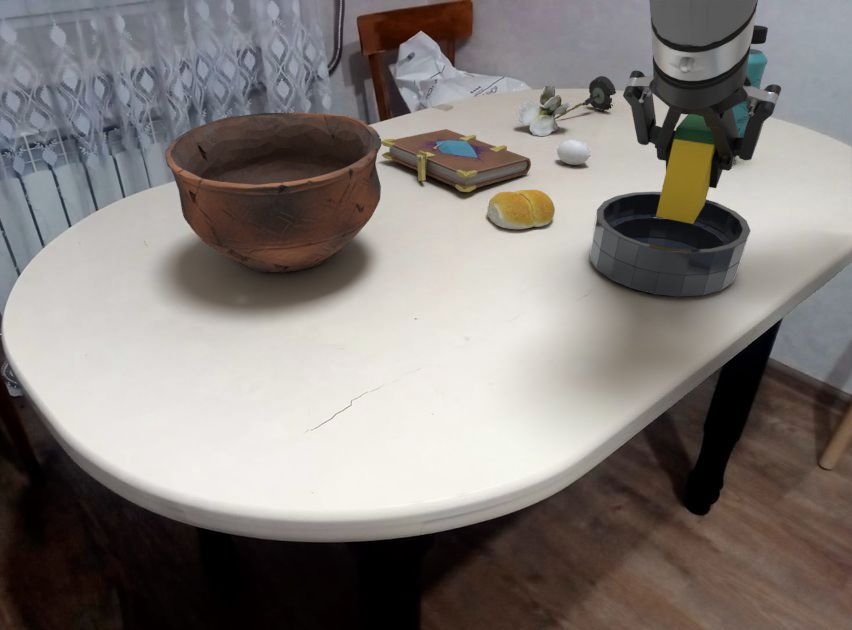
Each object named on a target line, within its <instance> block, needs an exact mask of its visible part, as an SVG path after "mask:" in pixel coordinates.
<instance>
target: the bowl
mask: <svg viewBox="0 0 852 630" xmlns="http://www.w3.org/2000/svg"><path fill="white" fill-rule="evenodd" d="M381 141H382V138H381V136H380V135H379V133H378V131H377V130H376V129H375V128H373V126H371V125H369V124H367V122H366V121H364V120H363V119H361V118H360V119H359V118H358V117H354V116H349V115H346V114H338V113H336V114H334V113H316V112H315V113H312V112H261V113H253V114H251V113H250V114H244V115H243V114H242V115H235V116H227V117H222V118H219V119H216V120H213V121H211V122H208V123H204V124H202V125H199V126H197V127H194V128H192V129H190V130H188V131H186V132H184V133H182V134H181V135H179V136H178V137H176V138H175V139H174V140H173V141H171V142H170V144H169V145H168V147H167V148H166V149H165V155H164V158H165V161H166V165H167V167H168V168H169V169H170V170H171V173H172V176H173V178H174V180H175V181H174V182H175V185H176V187H177V190H178V195H179V201H180V207H181V212H182V216H183V219H184V221H186V223H187V224H188V225H189V227H190V229H191V230H192V231H193V232H194V233H195V235H196V236H198V238H199V239H200V240H201V241H202V242H203V243H205V244H206V245H207V246H208V247H210V248H212V249H213V250H214V251H216V252H217V253H219V254H220V255H222V256H224V257H227V258H229V259H231V260H234V261H235V262H237V263H238V264H242V265H245V266H247V268H250V269H252V270H254V271H256V272H262V273H278V274H280V273H281V274H282V273H289V272H296V271H301V270H306V269H310V268H313V267H316V266H318V265H320V264H322V263H324V262H325V261H327V260H328V259H329V258H330V257H332V256H333V255H335V254H336V253H337V252H339V250H341V249H343V248H344V247H345V246H346V245H347V244H348V243H349V242H351V241H352V240H353V239H354V238H355V237H356V236H357V235H358V234H359V233H360V232H361V231H362V229H363V228H364V227H365V226H366V225H367V224H368V222H369V221H370V219H371V218H372V217H373V215H374V213H375V211H376V210H377V207H378V205H379V203H380V200H381V195H382V194H381V193H382V192H381V191H382V185H381V181H380V177H379V173H378V170H377V169H378V168H377V157H378V153H379V151H380V149H381V147H382V144H381Z"/></svg>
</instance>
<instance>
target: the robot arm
mask: <svg viewBox="0 0 852 630" xmlns="http://www.w3.org/2000/svg"><path fill="white" fill-rule="evenodd" d="M648 1H649V14H650V15H649V16H650V33H651V49H652V52H651V53H652V71H653V73H652V75H648V76H646V75H645V74H644V73H643V71H640V70H635V69H634V70H632V71H631V72H630V75H629V78H628V80H627V83H626V86H625V88H624V91H623V94H622V97H623V99H624V100H625V101H626V103H627V104H628V105H629V106H630V108H631V115H632V119H633V125H634V130H635V135H636V141H637V143H638V144H639V145H641V146H642V145H643V146H649V143H650V144H653V145H654V148H655V149H656V159H658V160H659V161H663V162H665V172H666V171H667V166H668V162H669V158H670V153H671V149H672V145H673V140H674V136H675V132H676V128H677V125H678V122H679V121H680V118H681V115H688V114H695V115H699V116H702V117H704V120H705V123H706V127H710V129H711V132H712V135H713V138H714V141H715V145H716V150H715V152H714V155H713V158H712V163H711V173H710V184H709V188H712V189H717V187H718V184H719V181H720V179H721V176H722V173H723V171H731V170H732V168H733V166H734V163H735V160H736V158H737V157H738V158H739V159H740V160H742V161H750V160H752V158H753V156H754V153H755V151H756V148H757V144H758V142H759V140H760V137H761V133H762V131H763V126H764V123H765V121H767V120H768V119H769V118H770V117H771V116H772V115H773V113H774V111H775V109H776V105H777V102H778V100H779V98H780V97H779V96H780V94H781V91H782V87H781V86H780V85H778V84H769V85H767V86H766V87H764V89H762V88H760V87H759V88H760V89H759V88H756V87H753V86H751V80H750V78H749V77H748V76H747V66H748V60H749V53H750V49H751V47H752V46H751V45H752V44H751V39H752V35H753V29H754V25H755V20H756V15H757V7H758V3H759V0H648ZM654 96H655V97H656V98H658V99H659V100H660V101H662V102H663V103H664V104H665V105H666V106H667V107H668V110H667V112H666V115H665V118H664V120H663V123H662V124H661V125H662V126H660V125H657V117H656V110H655V102H654ZM744 101H745V102H746V103H747V106H746V108H747V109H748V110H749V111H748V113H747V114H748V116H750V117H749V120H748V123H747V126H746V130H745V134H744V137H739V133H738V129H737V125H736V121H735V117H734V114H733V110H732V108H733V107H735V106H737V105H738V104H740V103H742V102H744Z"/></svg>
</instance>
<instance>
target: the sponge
mask: <svg viewBox="0 0 852 630" xmlns="http://www.w3.org/2000/svg"><path fill="white" fill-rule="evenodd" d="M675 130H676V132H675V136H674V140H673V145H672V149H671V153H670V158H669V162H668V166H667V171H666V170H665V175H664V179H663V183H662V184H663V185H662V188H661V191H660V192H661V196H660V201H659V205H658V209H657V214H656V217H661V218H666V219H671V220H676V221H681V222H686V223H691V224H693V223H694V221H695V220H696V218H697V216H698V215H699V213H700V211H701V210H702V208H703V206H704V204H705V201H706V199H707V196H708V192H709V190H710V187H709V184H710V173H711V163H712V158H713V155H714V152H715V150H716V145H715V141H714V138H713V135H712V132H711V129H710V127H706V123H705V120H704V117H702V116H699V115H695V114H686V116H685V117H684V118H683V120H681V121H680V122H679V124H677V125H676V127H675Z"/></svg>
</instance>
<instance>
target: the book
mask: <svg viewBox="0 0 852 630" xmlns="http://www.w3.org/2000/svg"><path fill="white" fill-rule="evenodd" d="M381 146H384V147H387V148H389V150H388V151H385V152H384V153H382V154H381V157H383V159H385V160H391V161H394V162H396V163H399V164H401V165H403V166H406V167H408V168H410V169H413V170H415V171H417V181H418V182H422V181H426V176H428V177H431V178H434V179H436V180H438V181H440V182H442V183H445V184H448V185H450V186H452V187H454V188H455V189H456V190H457V191H459V192H464V193H470V192H472V191H473V190H474V191H475V190H476V189H477V188H481V187H484V186H487V185H492V184H494V183H498V182H501V181H505V180H510V179H513V178H516V177H520V176H524V175H528V173H529V171H530V170H531V166H532V161H531V158H529V157H527V156H524V155H521V154H520V153H519V154H518V153H516V152H512V151H510V150H507V149H508V146H507V145H505V144H502V145H498V146H496V145H493V144H490V143H487V142H484V141H482V140H478V139H477V135H476V134H470V135H464V134H461V133H459V132H456V131H452V130H450V129H448V128H445V129H440V130H435V131H430V132H425V133H424V132H423V133H419V134H415V135H409V136H404V137H400V138H384V139H383V140H381Z"/></svg>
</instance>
